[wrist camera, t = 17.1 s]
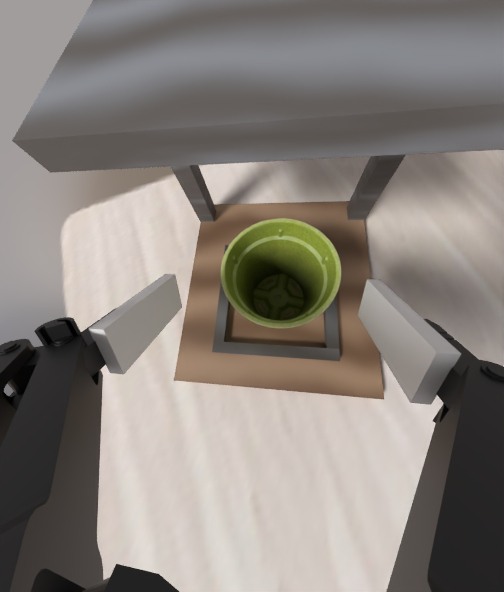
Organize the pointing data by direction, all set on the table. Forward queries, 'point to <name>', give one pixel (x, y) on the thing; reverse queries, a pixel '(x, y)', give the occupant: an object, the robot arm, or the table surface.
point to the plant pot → (281, 272)
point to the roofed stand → (273, 140)
